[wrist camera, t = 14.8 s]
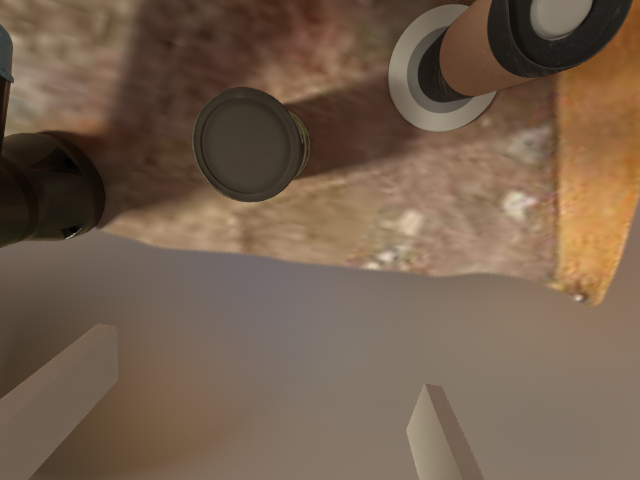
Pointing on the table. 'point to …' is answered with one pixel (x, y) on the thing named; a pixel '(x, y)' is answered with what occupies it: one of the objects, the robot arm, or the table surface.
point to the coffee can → (249, 144)
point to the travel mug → (515, 44)
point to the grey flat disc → (406, 76)
